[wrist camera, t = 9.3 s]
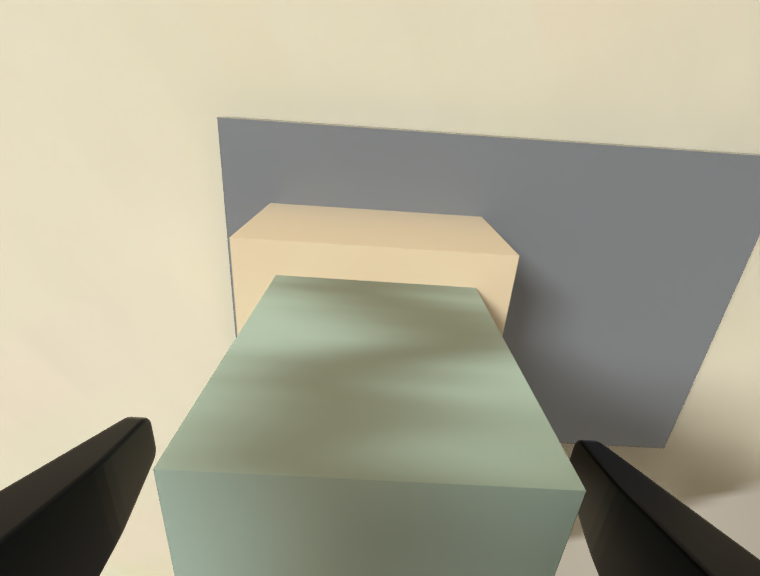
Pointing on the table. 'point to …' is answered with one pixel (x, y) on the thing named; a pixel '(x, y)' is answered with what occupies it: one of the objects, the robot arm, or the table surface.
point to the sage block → (367, 444)
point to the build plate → (512, 248)
